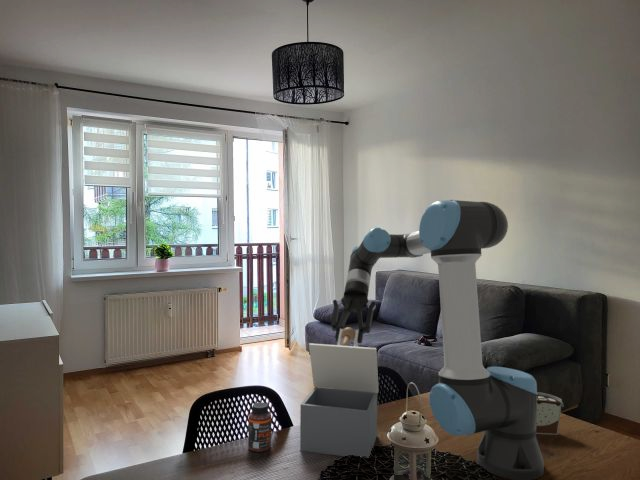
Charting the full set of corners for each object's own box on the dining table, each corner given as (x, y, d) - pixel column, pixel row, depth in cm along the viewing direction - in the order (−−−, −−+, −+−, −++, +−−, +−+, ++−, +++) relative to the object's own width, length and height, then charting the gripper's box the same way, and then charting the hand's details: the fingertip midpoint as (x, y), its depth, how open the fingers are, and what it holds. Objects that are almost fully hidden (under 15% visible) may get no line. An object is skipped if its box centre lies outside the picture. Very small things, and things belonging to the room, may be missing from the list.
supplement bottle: (259, 455, 118) (259, 411, 118) (243, 448, 121) (243, 405, 121) (275, 446, 123) (276, 404, 122) (259, 440, 126) (259, 399, 126)
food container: (554, 425, 137) (554, 392, 137) (563, 435, 131) (563, 399, 131) (511, 423, 138) (511, 390, 138) (517, 432, 132) (518, 397, 132)
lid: (378, 392, 129) (383, 367, 139) (376, 349, 124) (381, 326, 133) (313, 386, 134) (322, 362, 144) (308, 344, 128) (318, 322, 138)
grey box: (376, 435, 129) (377, 393, 129) (369, 459, 116) (369, 411, 116) (314, 428, 134) (314, 387, 134) (300, 450, 120) (300, 404, 120)
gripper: (385, 295, 149) (377, 360, 133) (332, 293, 153) (319, 355, 137) (383, 280, 143) (375, 346, 128) (329, 278, 148) (315, 342, 132)
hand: (346, 351), depth 132 cm, fingers closed on lid, 4 cm apart
